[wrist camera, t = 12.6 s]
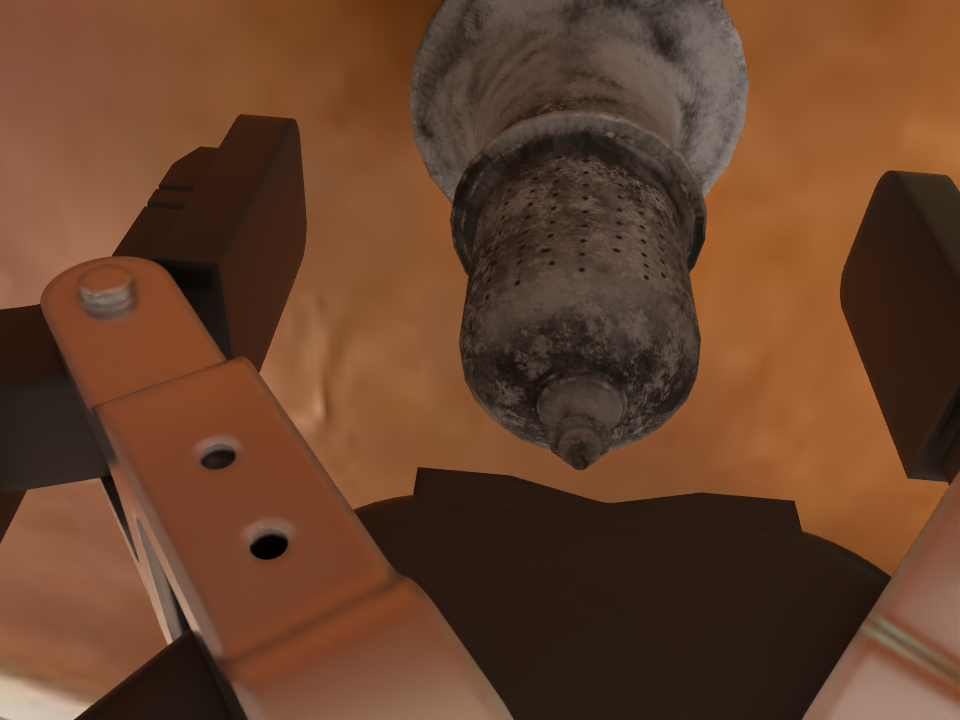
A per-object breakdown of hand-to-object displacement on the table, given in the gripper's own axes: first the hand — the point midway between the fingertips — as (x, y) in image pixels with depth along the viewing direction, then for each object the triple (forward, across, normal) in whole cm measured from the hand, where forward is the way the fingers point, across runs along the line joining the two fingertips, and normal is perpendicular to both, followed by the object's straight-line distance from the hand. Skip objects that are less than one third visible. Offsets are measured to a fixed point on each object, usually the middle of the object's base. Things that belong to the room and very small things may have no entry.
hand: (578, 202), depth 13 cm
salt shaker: (+8, 0, 0) cm, 8 cm away
